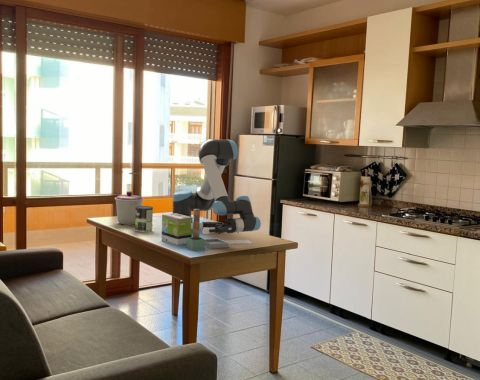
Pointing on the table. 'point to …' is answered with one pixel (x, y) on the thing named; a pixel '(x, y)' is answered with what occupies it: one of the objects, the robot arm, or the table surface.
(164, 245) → the table surface
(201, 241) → the cup
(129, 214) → the canister
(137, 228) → the coffee can
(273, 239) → the table surface
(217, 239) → the tray
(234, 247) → the table surface
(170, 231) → the tea box
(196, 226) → the dowel
